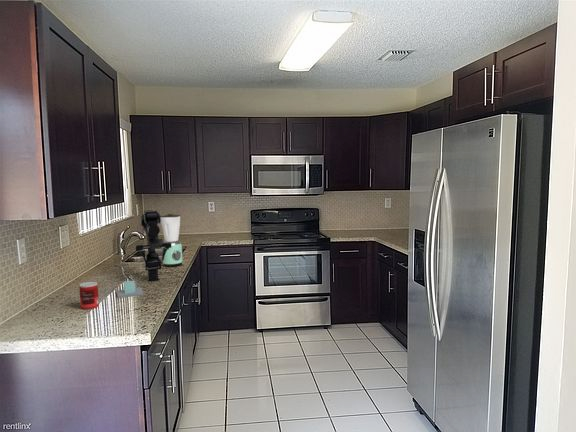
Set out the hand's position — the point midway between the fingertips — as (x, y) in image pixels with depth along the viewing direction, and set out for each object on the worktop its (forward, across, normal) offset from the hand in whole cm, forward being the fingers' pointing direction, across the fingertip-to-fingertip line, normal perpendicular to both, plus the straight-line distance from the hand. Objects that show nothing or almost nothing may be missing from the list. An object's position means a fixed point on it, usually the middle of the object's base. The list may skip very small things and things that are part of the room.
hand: (154, 261), depth 226 cm
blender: (+13, +16, +49) cm, 54 cm away
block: (+12, -14, -13) cm, 23 cm away
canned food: (+13, -32, -28) cm, 44 cm away
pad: (+13, -14, -13) cm, 23 cm away
